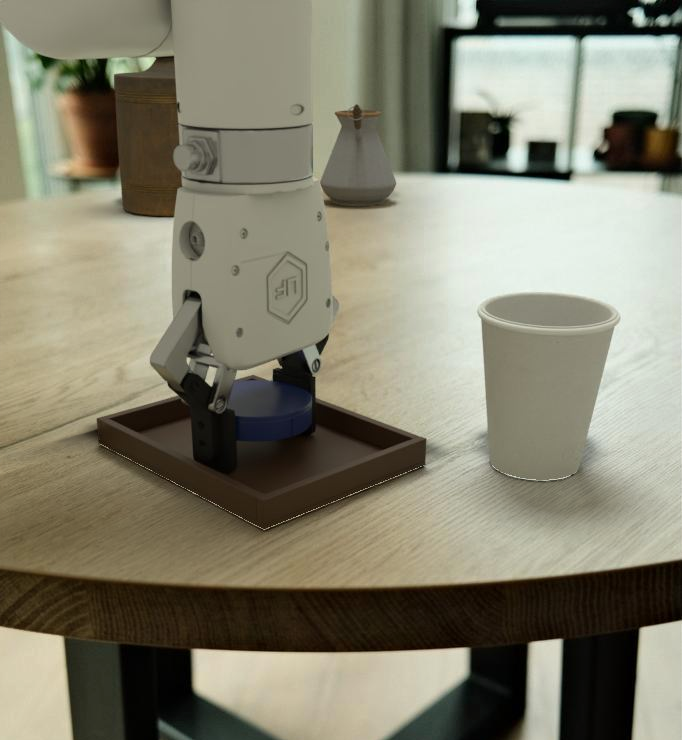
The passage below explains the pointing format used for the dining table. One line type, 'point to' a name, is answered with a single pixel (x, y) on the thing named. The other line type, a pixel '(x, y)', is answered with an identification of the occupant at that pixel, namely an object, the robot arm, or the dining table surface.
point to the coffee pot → (358, 162)
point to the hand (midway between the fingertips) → (256, 445)
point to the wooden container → (148, 138)
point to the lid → (269, 410)
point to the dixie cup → (542, 378)
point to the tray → (267, 458)
